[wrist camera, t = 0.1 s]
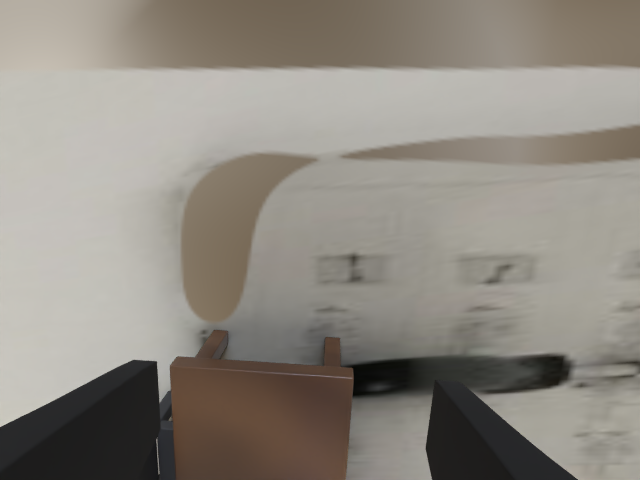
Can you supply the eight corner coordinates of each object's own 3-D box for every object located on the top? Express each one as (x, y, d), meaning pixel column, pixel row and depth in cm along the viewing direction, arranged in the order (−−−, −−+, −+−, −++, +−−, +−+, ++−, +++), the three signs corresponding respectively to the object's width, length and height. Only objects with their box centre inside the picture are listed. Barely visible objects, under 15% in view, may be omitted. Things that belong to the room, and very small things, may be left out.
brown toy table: (334, 531, 23) (334, 618, 19) (209, 522, 23) (181, 605, 19) (349, 329, 20) (353, 378, 15) (204, 320, 20) (169, 365, 16)
